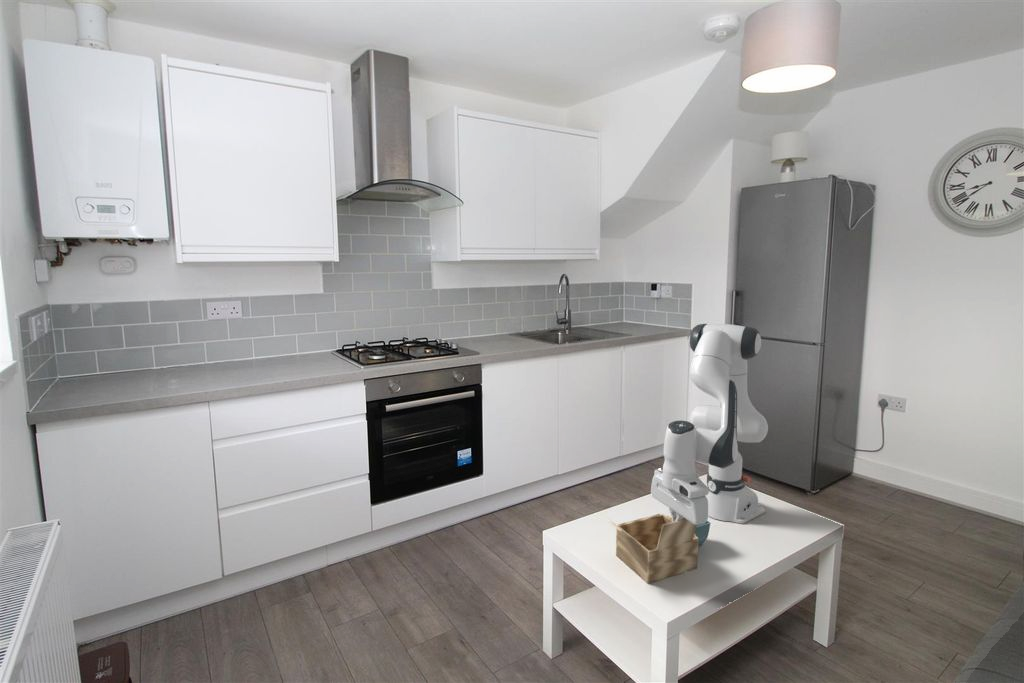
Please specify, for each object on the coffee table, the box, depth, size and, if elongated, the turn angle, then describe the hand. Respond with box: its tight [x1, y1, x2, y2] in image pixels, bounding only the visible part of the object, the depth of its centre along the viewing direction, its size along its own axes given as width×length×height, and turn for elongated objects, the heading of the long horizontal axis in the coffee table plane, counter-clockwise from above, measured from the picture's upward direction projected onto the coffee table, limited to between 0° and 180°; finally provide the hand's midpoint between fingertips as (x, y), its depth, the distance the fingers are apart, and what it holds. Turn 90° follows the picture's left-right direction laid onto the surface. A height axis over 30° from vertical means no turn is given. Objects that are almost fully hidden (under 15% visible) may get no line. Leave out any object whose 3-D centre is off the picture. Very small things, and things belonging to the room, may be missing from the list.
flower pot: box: [683, 518, 711, 548], centre depth 172 cm, size 9×9×9 cm
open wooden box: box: [615, 513, 699, 585], centre depth 163 cm, size 19×17×10 cm
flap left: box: [656, 519, 697, 550], centre depth 153 cm, size 13×9×1 cm
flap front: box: [604, 517, 640, 545], centre depth 156 cm, size 9×8×1 cm
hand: (676, 524), depth 152 cm, fingers closed
